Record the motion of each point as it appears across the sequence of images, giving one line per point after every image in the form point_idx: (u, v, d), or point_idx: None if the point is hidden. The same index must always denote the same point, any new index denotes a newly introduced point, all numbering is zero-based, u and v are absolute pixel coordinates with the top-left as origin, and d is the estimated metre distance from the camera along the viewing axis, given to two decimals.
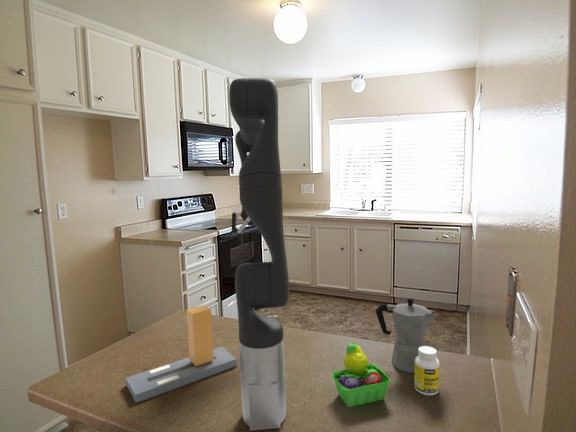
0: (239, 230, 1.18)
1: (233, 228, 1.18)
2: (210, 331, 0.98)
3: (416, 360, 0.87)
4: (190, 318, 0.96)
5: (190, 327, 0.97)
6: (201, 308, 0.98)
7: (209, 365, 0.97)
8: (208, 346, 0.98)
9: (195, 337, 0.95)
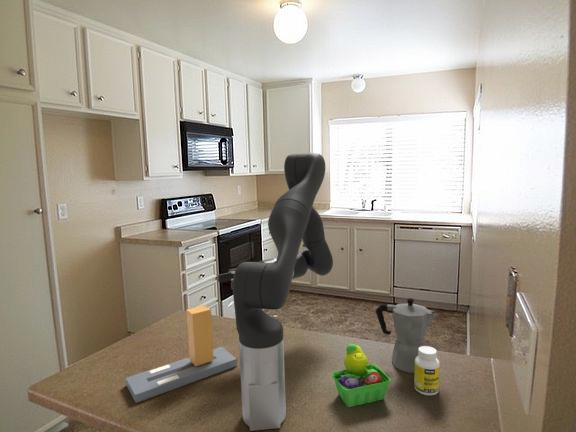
0: (232, 271, 1.08)
1: (231, 269, 1.09)
2: (210, 331, 0.98)
3: (416, 360, 0.87)
4: (190, 318, 0.96)
5: (190, 327, 0.97)
6: (201, 308, 0.98)
7: (209, 365, 0.97)
8: (208, 346, 0.98)
9: (195, 337, 0.95)
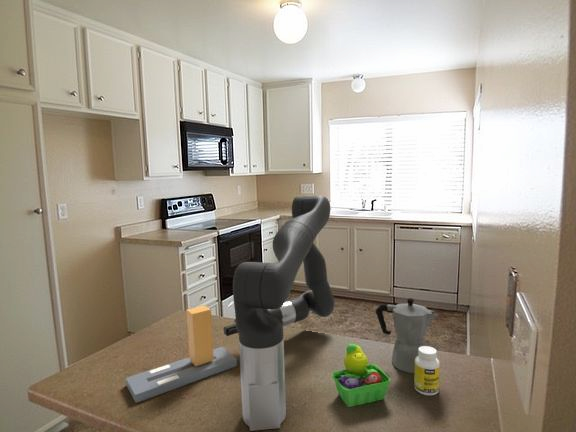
0: None
1: None
2: (210, 331, 0.98)
3: (416, 360, 0.87)
4: (190, 318, 0.96)
5: (190, 327, 0.97)
6: (201, 308, 0.98)
7: (209, 365, 0.97)
8: (208, 346, 0.98)
9: (195, 337, 0.95)
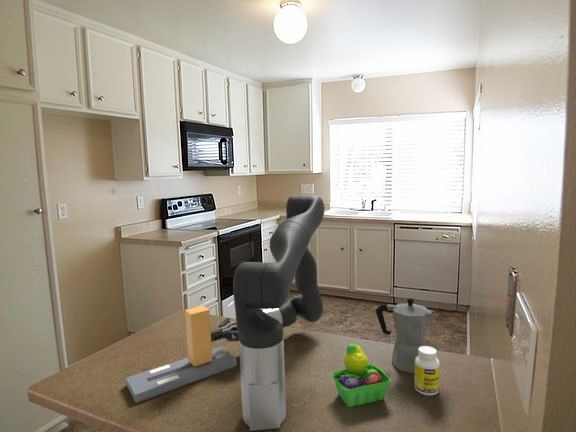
0: (222, 327, 1.03)
1: (222, 325, 1.05)
2: (209, 331, 0.98)
3: (416, 360, 0.87)
4: (188, 319, 0.96)
5: (188, 328, 0.96)
6: (199, 308, 0.98)
7: (209, 365, 0.97)
8: (207, 346, 0.98)
9: (194, 338, 0.95)
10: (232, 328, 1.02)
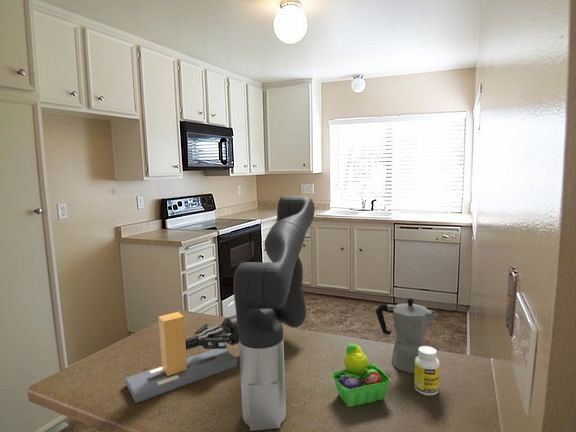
0: (198, 334, 0.99)
1: (198, 331, 1.01)
2: (183, 339, 0.94)
3: (416, 360, 0.87)
4: (161, 326, 0.92)
5: (162, 335, 0.92)
6: (174, 315, 0.94)
7: (209, 365, 0.97)
8: (181, 354, 0.94)
9: (167, 345, 0.91)
10: (209, 335, 0.98)
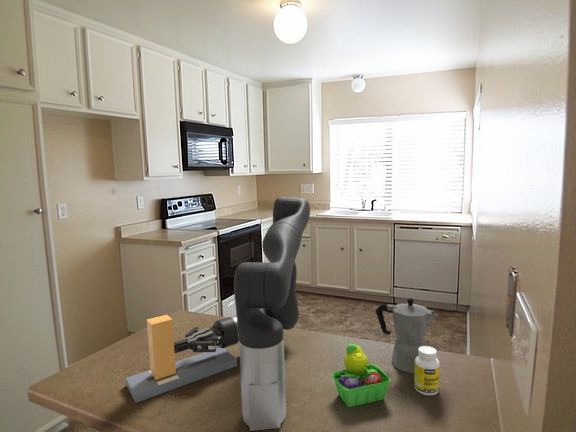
0: (188, 337, 0.97)
1: (188, 334, 0.99)
2: (172, 342, 0.92)
3: (416, 360, 0.87)
4: (149, 329, 0.90)
5: (150, 338, 0.91)
6: (162, 318, 0.92)
7: (209, 365, 0.97)
8: (170, 358, 0.92)
9: (155, 349, 0.90)
10: (198, 338, 0.96)
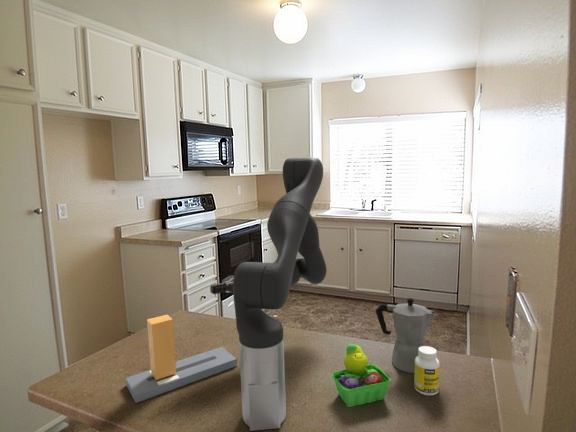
0: (225, 281, 1.03)
1: (225, 279, 1.04)
2: (172, 342, 0.92)
3: (416, 360, 0.87)
4: (150, 329, 0.90)
5: (150, 338, 0.91)
6: (162, 318, 0.92)
7: (209, 365, 0.97)
8: (170, 358, 0.92)
9: (155, 349, 0.90)
10: None
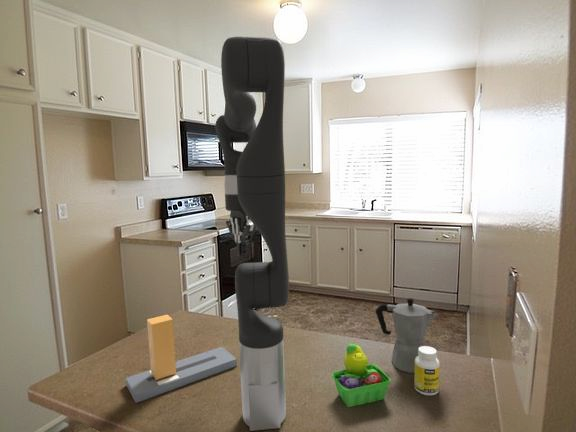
0: (235, 239, 1.01)
1: (232, 235, 1.02)
2: (172, 342, 0.92)
3: (416, 360, 0.87)
4: (150, 329, 0.90)
5: (150, 338, 0.91)
6: (162, 318, 0.92)
7: (209, 365, 0.97)
8: (170, 358, 0.92)
9: (155, 349, 0.90)
10: (239, 233, 0.99)
